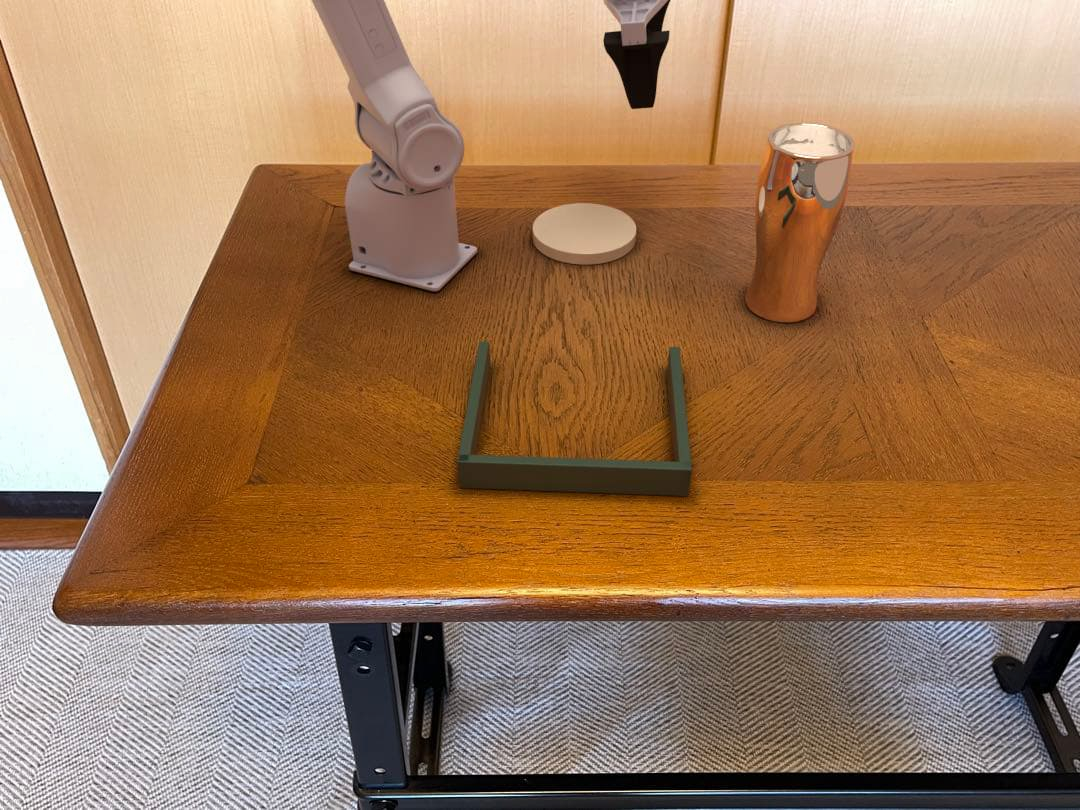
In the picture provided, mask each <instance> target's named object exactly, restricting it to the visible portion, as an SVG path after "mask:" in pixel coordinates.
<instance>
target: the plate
mask: <svg viewBox="0 0 1080 810" xmlns="http://www.w3.org/2000/svg"><path fill="white" fill-rule="evenodd" d="M531 229H532V231H531V233H532V242H533V246H535V247H534V248H536V249H537V250H538V252H540V253H541V254H542V255H544V256H545V257H548V258H550V259H552V260H555V261H558V262H561V263H565V264H570V265H579V266H581V265H582V266H584V265H585V266H588V265H599V264H601V265H602V264H606V263H610V262H613V261H616V260H618V259H620V258H623V257H624V256H626V255H628V254H629V253H630V252H631V251H632V250H633V249H634V247H635V245H636V243H637V242H636V241H637V225H636V223H635V221H634V220H633V218H632V217H631V216H629V214H627V213H626V212H624V211H622V210H620V209H617V208H615V207H613V206H609V205H605V204H601V203H600V204H599V203H593V202H589V203H588V202H576V203H575V202H574V203H568V204H567V203H566V204H562V205H558V206H554V207H552V208H549V209H546V210H545V211H544V212H542V213H540V214H539V215H538V216H537V217H536V218H535V219H534V221H533V223H532V227H531Z"/></svg>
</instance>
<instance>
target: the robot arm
mask: <svg viewBox="0 0 1080 810" xmlns="http://www.w3.org/2000/svg"><path fill="white" fill-rule="evenodd" d="M311 3H312V4H313V6H314V9H315V10H316V11H315V12H316V13H317V15H318V17H319V19H320V21H321V23H322V25H323V28H324V29H325V32H326V33H327V36H328V38H329V39H330V41H331V44H332V45H333V48H334V50H335V52H336V54H337V56H338V58H339V60H340V62H341V64H342V66H343V68H344V71H345V72H346V74H347V76H348V84H347V90H348V93H349V95H350V97H351V99H352V102H353V107H354V125H355V130H356V133H357V136H358V137H359V139H360V141H361V143H362V144H364V145H365V147H367V148H368V149H369V150H371V160H370V162H365V163H362V164H360V165H358V166H357V167H356V169H355V170H354V171H353V172H352V174H351V175H350V177H349V179H348V182H347V185H346V189H345V195H344V207H345V214H346V221H347V222H346V223H347V229H348V234H349V241H350V247H351V254H352V259H353V260H352V261H351V262H350V263H349V264H348V269H349V270H350V271H352V272H356V273H359V274H364V275H366V276H367V275H368V276H371V277H376V278H380V279H383V280H388V281H392V282H394V283H398V284H399V283H400V284H403V285H408V286H411V287H415V288H419V289H422V290H426V291H430V292H439V291H440V290H441V289H443V288H444V286H445V285H446V284H448V282H449V281H450V280H452V278H453V277H455V275H456V274H457V273H458V272H459V271H460V270H462V268H463V267H464V266H465V265H466V264H467V263H469V261H471V260H472V259H473V258H474V256H475V255H476V254H477V253H478V247H477V246H475V245H470V244H466V243H462V242H460V241H459V229H458V227H459V226H458V216H457V215H458V213H457V200H456V188H455V187H456V185H455V184H456V183H455V176H456V174H457V173H458V172H459V170H460V167H461V165H462V163H463V161H464V157H465V141H464V137H463V135H462V132H461V130H460V129H459V127H458V126H457V125H456V124H455V123H454V122H453V121H452V120H450V119H449V118H448V117H446V116H445V115H444V113H442V111H441V110H440V108H439V106H438V104H437V102H436V99H435V97H434V95H433V93H432V92H431V91H430V90H429V88H428V87H427V85H426V84H425V82H424V81H423V79H422V78H421V76H420V75H419V73H418V72H417V70H416V69H415V67H414V66H413V64H412V62H411V60H410V58H409V55H408V53H407V50H406V48H405V46H404V43H403V41H402V39H401V37H400V34H399V32H398V30H397V27H396V25H395V23H394V20H393V18H392V15H391V13H390V11H389V9H388V6H387V4H386V2H385V0H311ZM603 3H604V5H605V6H606V8H607V9H608V10H609V11H610V13H611V14H612V16H613V17H614V18H615V20H617V22H618V24H619V25H620V30H616V31H605V32H604V34H603V41H602V42H603V48H604V50H605V52H606V54H607V55H608V57H609V58H610V59H611V60H612V62H613V64H614V65H615V67H616V69H617V72H618V73H619V76H620V79H621V81H622V86H623V90H624V92H625V96H626V98H627V99H626V100H627V102H628V104H629V107H630V109H631V110H640V109H653V108H654V106H655V102H656V97H657V88H658V77H659V70H660V64H661V61H662V59H663V55H664V53H665V51H666V49H667V46H668V43H669V40H670V33H671V32H670V30H663V26H664V21H665V18H666V17H665V16H666V14H667V11H668V8H669V5H670V3H671V0H603Z"/></svg>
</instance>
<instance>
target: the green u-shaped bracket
mask: <svg viewBox="0 0 1080 810" xmlns="http://www.w3.org/2000/svg"><path fill="white" fill-rule="evenodd" d="M490 350H491V349H490V341H479V342H478V347H477V352H476V357H475V363H474V369H473V373H472V378H471V384H470V389H469V395H468V400H467V406H466V411H465V416H464V422H463V427H462V432H461V438H460V442H459V443H460V444H459V449H458V454H457V458H456V459H457V460H456V467H457V476H458V477H457V478H458V487H459V489H479V490H506V491H507V490H508V491H509V490H510V491H532V492H533V491H534V492H535V491H538V492H562V493H563V492H565V493H586V494H587V493H591V494H616V495H617V494H618V495H619V494H620V495H642V496H643V495H644V496H646V495H648V496H674V497H689V495H690V489H691V488H690V487H691V481H692V472H693V465H692V457H691V456H692V455H691V447H690V436H689V427H688V416H687V406H686V396H685V386H684V378H683V377H684V376H683V366H682V357H681V348H680V347H679V346H669V348H668V357H667V366H666V378H667V392H668V405H669V417H670V428H671V429H670V430H671V442H672V455H673V461H668V460H667V461H666V460H665V461H664V460H637V459H635V460H634V459H607V458H578V457H577V458H576V457H553V456H551V457H550V456H521V455H494V454H493V455H492V454H491V455H489V454H477V452H478V446H479V439H480V433H481V428H482V421H483V416H484V408H485V402H486V397H487V391H488V384H489V378H490V371H491V351H490Z"/></svg>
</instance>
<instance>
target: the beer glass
mask: <svg viewBox="0 0 1080 810" xmlns="http://www.w3.org/2000/svg"><path fill="white" fill-rule="evenodd" d="M766 139H767V140H766V144H765V148H764V152H763V156H762V160H761V165H760V170H759V174H758V180H757V185H756V192H755V203H754V204H755V206H754V207H755V208H754V209H755V210H754V223H755V224H754V225H755V249H756V251H755V264H754V268H753V272H752V275H751V279H750V281H749V284H748V286H747V289H746V292H745V296H744V301H745V304H746V307H747V308H748V309H749V310H750V311H751V312H752V313H753V314H755V315H756V316H758V317H760V318H762V319H764V320H767V321H771V322H775V323H785V324H786V323H798V322H801V321H804V320H807V319H808V318H810V317H812V316H813V314H814V313H815V312H816V309H817V305H818V280H819V274H820V269H821V266H822V263H823V261H824V258H825V256H826V254H827V251H828V249H829V246H830V244H831V242H832V240H833V238H834V235H835V232H836V231H837V228H838V226H839V222H840V219H841V217H842V214H843V212H844V207H845V205H846V200H847V195H848V191H849V185H850V180H851V172H852V165H853V157H854V150H855V148H856V147H855V146H856V142H855V140H854V138H853V137H852V136H851V135H850V134H849V133H847V132H846V131H844V130H841V129H839V128H836V127H834V126H830V125H827V124H821V123H814V122H813V123H812V122H792V123H786V124H782V125H778V126H777V127H774V128H772V129H771V130H770V131H769V132H768V134H767V138H766Z"/></svg>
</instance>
